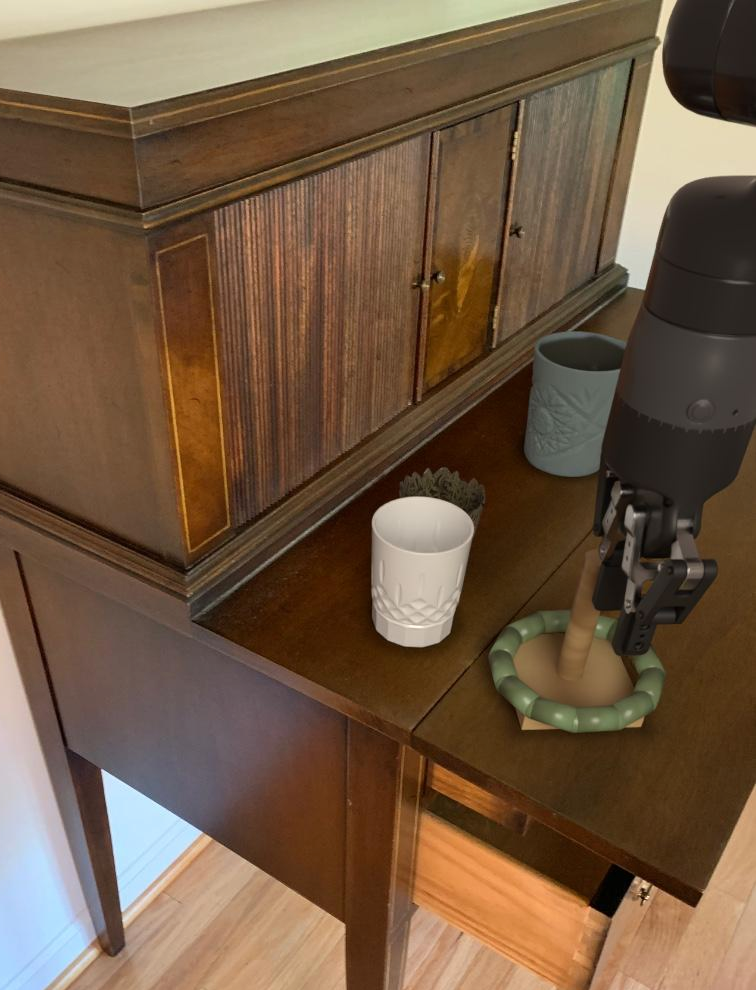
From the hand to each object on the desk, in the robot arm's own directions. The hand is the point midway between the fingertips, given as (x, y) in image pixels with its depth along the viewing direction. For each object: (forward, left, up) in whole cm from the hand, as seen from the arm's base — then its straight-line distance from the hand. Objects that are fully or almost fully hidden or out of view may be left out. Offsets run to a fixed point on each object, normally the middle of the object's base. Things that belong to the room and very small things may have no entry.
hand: (617, 627), depth 61 cm
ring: (0, -5, -8) cm, 9 cm away
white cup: (+11, -13, -11) cm, 20 cm away
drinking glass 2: (-9, -40, -11) cm, 43 cm away
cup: (+8, -21, -11) cm, 25 cm away
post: (0, -5, -11) cm, 12 cm away
